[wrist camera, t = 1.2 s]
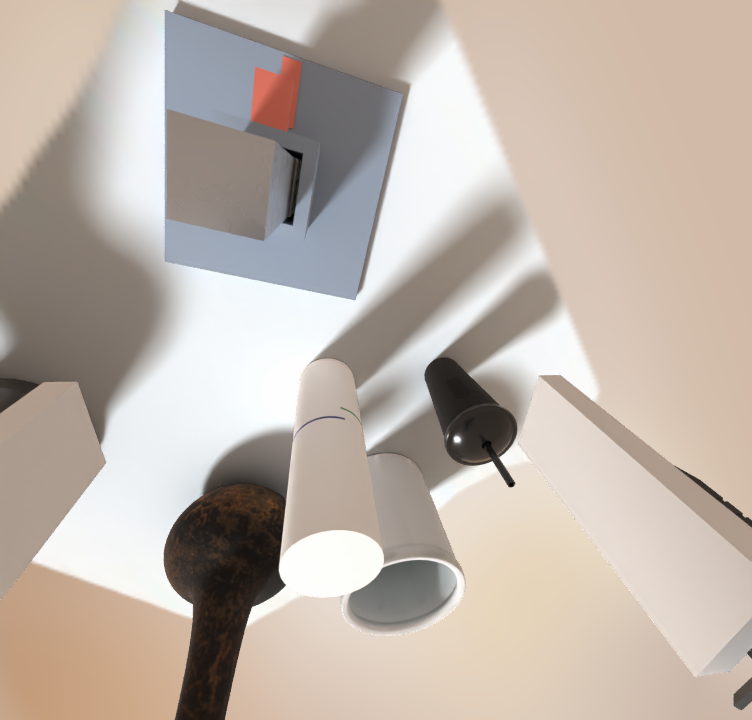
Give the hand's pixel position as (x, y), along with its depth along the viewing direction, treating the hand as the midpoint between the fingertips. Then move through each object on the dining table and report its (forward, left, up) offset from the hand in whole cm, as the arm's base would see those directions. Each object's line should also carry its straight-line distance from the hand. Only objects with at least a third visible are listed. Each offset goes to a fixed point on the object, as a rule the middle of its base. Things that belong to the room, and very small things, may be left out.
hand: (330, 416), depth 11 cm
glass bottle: (-4, -41, -32) cm, 52 cm away
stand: (-5, +5, -32) cm, 32 cm away
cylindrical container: (+4, -17, -32) cm, 36 cm away
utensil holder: (+16, -34, -32) cm, 49 cm away
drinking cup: (+19, -13, -32) cm, 39 cm away
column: (-5, +5, -30) cm, 31 cm away
